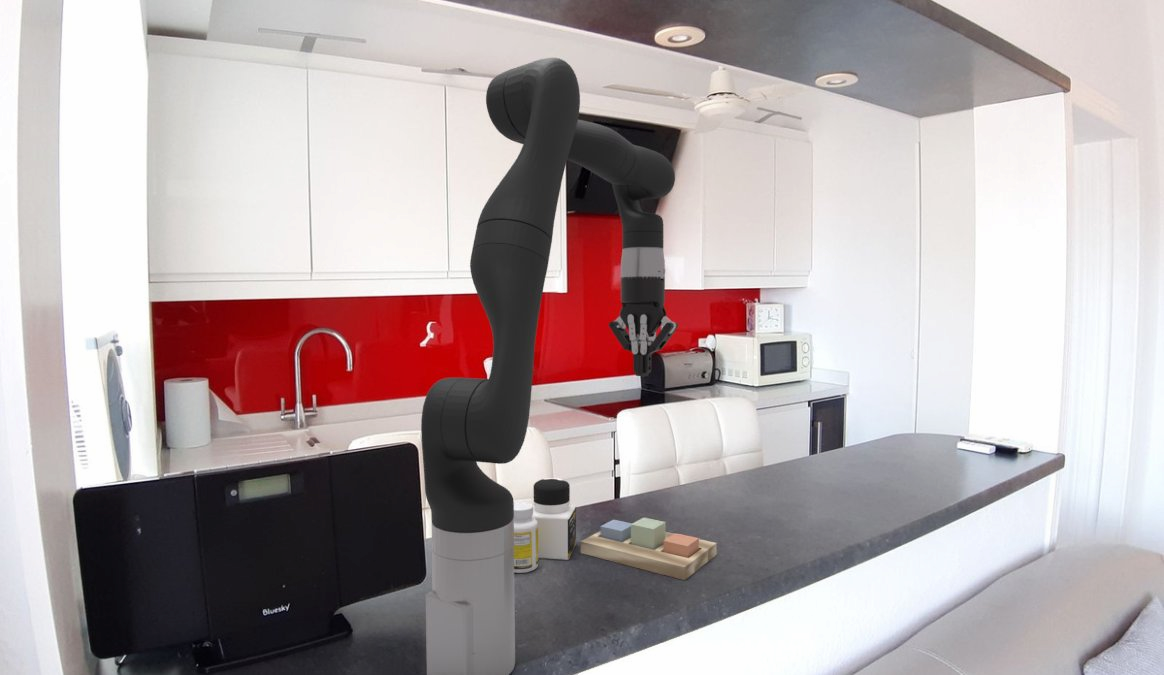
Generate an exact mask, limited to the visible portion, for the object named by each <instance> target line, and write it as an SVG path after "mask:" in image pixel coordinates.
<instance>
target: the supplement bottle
mask: <svg viewBox="0 0 1164 675" xmlns="http://www.w3.org/2000/svg"><path fill="white" fill-rule="evenodd" d="M533 507H534V504H532V503H529V502H523V501H522V502H514V574H515V573H516V574H524V573H529V572H533V571H534V570H537V568H538V567H539V558H538V523H537V520H536V519H535V518H533V517H532V515H533Z"/></svg>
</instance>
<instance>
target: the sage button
mask: <svg viewBox="0 0 1164 675" xmlns="http://www.w3.org/2000/svg"><path fill="white" fill-rule="evenodd" d="M666 524H667V523H666V521H661V520H657V519H653V518H648V517H645V516H644V517H642V518H640V519H638V520H636V521H634V522H633V523H632V524H631V545H636V546H640V547H644V548H648V549H652V550H655V549H657V548H658V547H660V546H661V545H663V541H664V540H665V539H666V532H667V531H666Z"/></svg>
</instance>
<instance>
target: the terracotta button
mask: <svg viewBox="0 0 1164 675" xmlns="http://www.w3.org/2000/svg"><path fill="white" fill-rule="evenodd" d="M699 539H700V538H699V537H695V536H691V535H686V534H681V533H676V532H675V533H673V535H672V536H670V537H668V538H667V539H665V540H664V541H663V552H665V553H669V554H673V555H677V556H681V557H686V558H690V557H691V556H692V555H694V554H695V553H696V552H698V551H699Z"/></svg>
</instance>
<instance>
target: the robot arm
mask: <svg viewBox="0 0 1164 675" xmlns="http://www.w3.org/2000/svg"><path fill="white" fill-rule="evenodd" d="M579 85H580V84H579V81H578V78H577V75H576V73H575V71H574V68H573V67H572V66H571V65H570V64H569V63H568V62H567V61H565V60H564V59H563V58H562V59H561V58H558V57H547V58H541V59H537V60H534V61H532V62H528V63H526V64H522V65H520V66H517V67H515V68H514V67H513V68H510V69H508V70H506V71H504V72H501V73H500V74H497V75H496V76H495V77H494V78H492V80H491V81H490V82H489V84H488V86H487V89H486V94H485V104H486V110H487V113H488V116H489V119H490V121H491V123H492V125H493V126H494V128H495V129H496V131H498V132H499V133H500V134H501V135H502V136H503V137H504V138H506V139H508V140H510V141H513V142H515V143H517V144H520V145H522V147H521V149H520V152H519V153H518V155H517V158H516V159H515V160H514V162H513V163H512V165H511V166H510V168H509V169H508V171H507V172H506V173H505V175H504V176H503V177H502V179H501V180H500V182H499V183H498V184H497V186H496V187H495V189H494V190H493V191H492V193H491V194H490V196H489V198H488V200H487V201H486V202H485V204H484V206H483V208H482V210H481V213H480V215H479V218H478V221H477V225H476V230H475V234H474V239H473V244H472V250H471V256H470V260H469V261H470V262H469V267H470V275H471V279H472V281H473V282H472V283H473V285H474V288H475V291H476V294H477V296H478V298H479V301H480V303H481V305H482V307H483V310H484V311H485V315H486V316H487V319H488V321H489V325H490V329H491V332H492V344H493V345H492V346H493V348H492V349H493V350H492V360H491V368H490V373H489V377H488V378H475V377H444V378H441V379H439V380H437V381H436V382H434V384H433V385H432V386H431V387H430V388H429V390H428V391H427V394H426V396H425V399H424V403H423V406H422V411H421V412H422V413H421V421H420V422H421V424H420V431H421V432H420V434H421V448H422V460H423V461H422V463H423V477H424V479H423V480H424V491H425V492H424V493H425V497H426V501H427V504H428V505H429V508H430V515H431V516H430V517H431V569H432V571H431V572H432V573H431V574H432V575H431V576H432V578H431V581H432V582H431V583H432V590H430V591H429V592H427V593H426V594H425V635H426V636H425V638H426V640H425V641H426V649H425V650H426V675H510V674H511V673H513V671H514V668H515V666H516V630H515V629H516V628H515V627H516V626H515V624H516V623H515V622H516V621H515V620H516V619H515V618H516V617H515V610H516V609H515V608H516V607H515V573H514V503H515V502H514V501H515V500H514V498H513V495H512V493H511V492H510V490H509V489H508V488H506V487H505V486H503V485H501V484H500V483H498V482H496V481H495V480H493V479H491V478H490V477H489V476H488V475H487V474H485V473H484V471H482V469H481V468H480V466H479V465H478V463H490V464H498V465H499V464H501V465H502V464H503V465H504V464H508V463H510V462H512V461H513V460H515V459H516V457H517V456H518V455H519V454H520V451H521V449H522V447H523V446H524V442H525V439H526V437H527V431H528V427H529V420H530V412H531V411H530V409H531V401H532V388H533V386H532V385H533V373H534V372H533V371H534V362H535V361H534V360H535V347H536V339H537V338H536V337H537V331H538V322H539V317H540V311H541V303H542V298H543V292H544V287H545V286H544V285H545V281H546V278H547V272H548V267H549V261H550V256H551V248H552V242H553V234H554V226H555V219H556V215H557V214H556V213H557V208H558V207H557V206H558V203H559V202H558V201H559V196H560V192H561V186H562V181H563V178H564V173H565V169H566V165H567V162H568V161H570V162H571V163H574V164H576V165H579V166H581V167H582V168H585V169H586V170H588V171H590V172H591V173H593V174H594V175H597V176H598V177H600V178H601V179H603V180H604V181H607V182H608V183H610V184H612V190H613V194H614V197H615V200H616V204H617V208H618V212H619V217H620V220H621V226H622V236H621V237H622V241H621V242H622V245H621V246H622V252H621V258H620V259H621V260H620V301H621V309H620V310H619V316H618V317H617V318H616V319H614V320H613V321H609V323H608V327H609V329H610V330H611V331H612V333H613V335H614V336H615V338H616V339H617V341H618V342H619V344H620V345H621V347H622V349H623V350H625V351H627V352H628V351H629V352H631V353H632V357H633V358H632V359H633V361H632V364H633V365H632V368H633V372H634V373H635V376H636V377H648V376H649V375H650V373H651V372H652V368H653V367H652V365H653V364H652V363H653V361H652V360H653V359H652V355H653V354H654V353H655V352H659V351H660V352H661V351H662V350H663V349H664V347H665V345H666V344H667V343H668V341H669V340H670V339H671V338H672V336H673V335H674V334H675V333H676V330H678V328H679V324H678V323H677V322H675V321H672V320H671V319H670V318H669V317H668V316H667V311H666V308H665V299H666V297H665V296H666V295H665V293H666V289H665V288H666V287H665V285H666V284H665V281H666V280H665V279H666V267H665V266H666V264H665V262H666V260H665V252H664V220H663V217H662V216H661V215H660V214H656V213H652V212H646V211H643V209H642V208H641V205H640V201H644V200H651V199H652V200H655V199H661V198H664V197H665V196H667V195H669V193H671V191H672V190H673V188H674V185H675V182H676V173H675V170H674V167H673V165H672V163H671V162H670V160H669V159H668V158H667V157H666V156H664V155H663V154H662V153H659V152H658V151H656V150H653V149H650V148H647V147H644V146H639V145H635V144H633V143H632V142H631V141H629V140H628V139H626V138H625V137H624V136H622V134H620V133H618V132H617V131H616V130H614V129H612V128H610V127H608V126H605V125H602V124H599V123H595V122H591V121H587V120H582V119H579V115H580V106H581V92H580V86H579ZM626 328H627V329H626ZM659 328H660V331H659V333H658V334H657V331H658V330H659ZM627 330H628V331H627ZM477 462H478V463H477Z"/></svg>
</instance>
